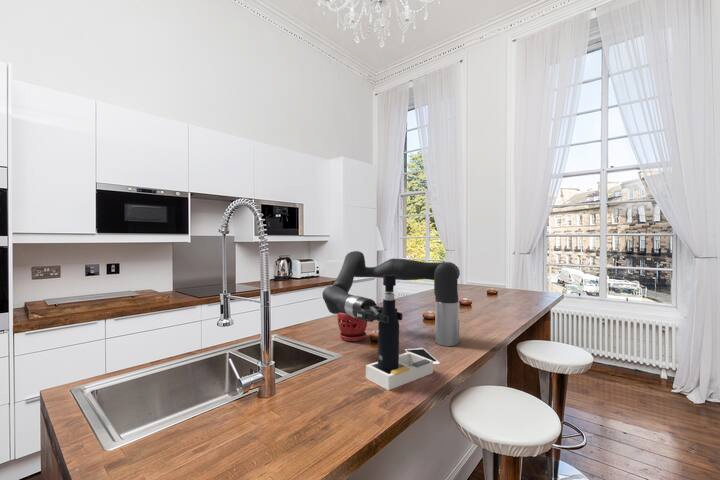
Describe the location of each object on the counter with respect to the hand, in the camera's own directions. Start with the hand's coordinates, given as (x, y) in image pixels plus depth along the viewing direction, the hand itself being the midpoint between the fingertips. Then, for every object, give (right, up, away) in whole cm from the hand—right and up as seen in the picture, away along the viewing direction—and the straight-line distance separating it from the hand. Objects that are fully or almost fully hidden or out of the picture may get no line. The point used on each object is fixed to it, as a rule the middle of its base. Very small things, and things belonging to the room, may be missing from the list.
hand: (394, 318), depth 101 cm
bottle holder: (+2, -19, +5) cm, 20 cm away
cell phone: (+12, -20, +22) cm, 32 cm away
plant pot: (-14, -19, +43) cm, 49 cm away
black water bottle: (-2, -17, +3) cm, 17 cm away
